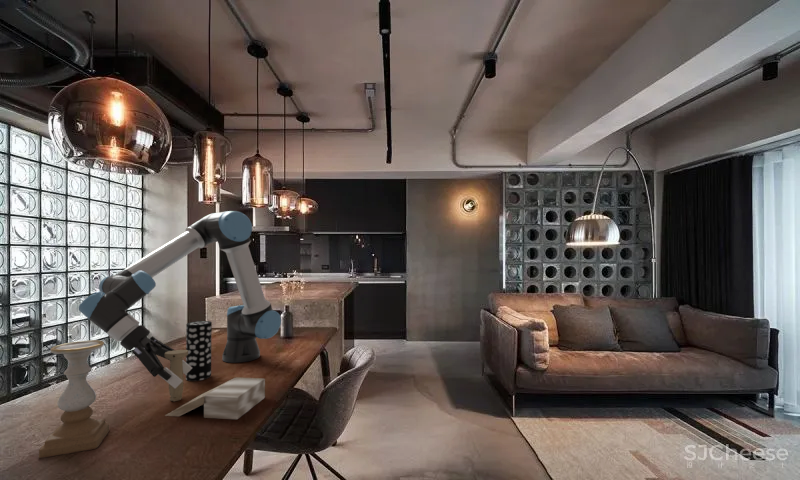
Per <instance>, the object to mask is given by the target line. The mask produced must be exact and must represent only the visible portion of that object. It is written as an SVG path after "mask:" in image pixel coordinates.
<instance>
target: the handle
mask: <svg viewBox="0 0 800 480" xmlns="http://www.w3.org/2000/svg"><path fill="white" fill-rule="evenodd" d="M187 355H188V350H186V349H174V350H173V351H168V352H165V358H167V359H166V360H168V359H169V360H168V361H169V362H170V363H169V370H170V371H172V372H173V373H174V374H175V375H177V376H178V377H179V378H180V379H181V380H183V381H182V382H181V383H180V384H179V385H178V386H177V387H176V388H174V387H172V386H171V385H170V384H169V383H168V392H169V396H170V397H169V400H170V402H178V401H180V400H182V399H183V391H184V373H183V362H182V361H183V360H184V358H186V356H187ZM165 358H164V359H165Z"/></svg>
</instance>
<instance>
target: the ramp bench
mask: <svg viewBox="0 0 800 480" xmlns="http://www.w3.org/2000/svg"><path fill="white" fill-rule="evenodd" d="M265 387H266V378H263V377H262V378H259V377H257V378H256V377H234V378H232V379H229V380H227V381H225V382H223V383H222V384H220V385H217V386H216V387H214V388H211V389H209V390H208V391H205V392H203V393H202V394H199V395H198V396H196V397H195V398H193V399H191V400H189V401H187V402H186V403H184V404H182V405H180V406H179V407H177V408H176V409H174V410H172V411H171V412H168V413H167V414H165V415H164V416H165V417H167V416H168V417H181V416H183V415H185V414H186V413H189V412H191V411H192V410H195V409H197V408H199V407H200V406H203V418H204V419H206V418H207V419H224V420H238V419H240V418H241V417H242V416H244V415H245V414H246V413H248V412H249V411H250V410H252V408H254V407H255V406H256V405H258V404H259V403H260V402H262V400H264V399H265V398H266V391H265V390H266V388H265Z"/></svg>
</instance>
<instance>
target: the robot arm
mask: <svg viewBox="0 0 800 480" xmlns="http://www.w3.org/2000/svg"><path fill="white" fill-rule="evenodd" d="M252 232H253V224H252V222H251V220H250V218H249V217H248V215H246V214H244V213H243V212H242V211H237V210H229V211H228V210H227V211H226V210H225V211H220V212H212V213H210V214H207V215H205V216H203V217H202V218H200V219H199V220H197V221H195V222H194V223H193V224H191V225H189V226H187V227H186V228H185V232H183V233H181V234H180V235H178V236H176V237H175V238H173V239H171V240H170V241H167V242H166V243H164V244H163V245H162V246H160V247H158V248H156V249H155V250H153V251H152V252H150V253H148V254H147V255H146V256H144V257H142V258H140V259H139V260H137V261H136V262H134V263H132V264H131V265H129V266H127V267H126V268H125V269H123V270H120V271H119V272H118V273H116V274H114V275H108V276H106V277H104V278H102V279H101V280H100V282H99V285H98V290H97V291H95V292H94V293H92V294H90V295H89V296H87V297H85V299H83V300H82V301H81V303H80V304H79V305H78V311H79V312H80V313H81V314H82V315H84V316H85V318H87V320H89V321H90V322H91V323H93V324H94V325H95V326H96V327H98V328H99V329H101V330H102V331H103V332H104V333H105V334H107V335H108V336H109V338H110V339H112V340H114V341H116V342H118V343H119V342H120V343H119V344H120V346H122V347H123V348H124V349H125V350H127V351H129V352H130V351H131V353H132V354H133V355H134V356H135V357H136V358H137V359H138V360H139V361H140V363H141V364H142V365H143V366H144V367H145V369H146V370H147V371H148V373H150V374H151V376H152V377H156V376H159V377H160V378H161V379H162V380H164V381H165V382H166V383H167V384H168V385H169V384H170V385H171V386H172V387H174V388H176V387H177V386H178V385H179V384H180V383H181V382H182V381H183V382H184V379H183V380H181V379H180V378H179V377H178V376H177V375H175V374H174V373H173V372H172V371H170V368H168V367H166V366H165V367H164V365H163V364H162V362H161V360H160V359H159V357H161V358H164V359H166V360H168V361H170V360H169V359H167V358H165V352H168V351H173V350H175V349H173V348H172V347H170V346H169V345H167V344H165V343H164V342H161V341H160V340H158V339H157V338H156V337H154V336H150V338H149V337H148V335H150V333H151V332H150V330H149V329H148V328H146V327H145V326H144V325H143V324H140V322H139V321H138V320H137V319H136V318H135V317H133V316H132V315H131V314H129V313H128V310H129V309H130V308H131V307H133V306H134V305H136V303H139V301H140V300H142V299H143V298H145V297H146V295H149V294H150V292H152V290H154V289H155V287H156V284H157V283H156V281H155V280H154V277H155V276H157V275H159V274H160V273H161V272H164V271H165V270H167V269H168V268H170V267H171V266H173V265H174V264H175V263H177V262H178V261H180V260H181V259H183V258H184V257H186V256H188V255H189V254H191V253H193V251H195V250H197V249H203V248H205V247H206V246H208V245H210V244H213V243H217V244H218V246H219V250H220V251H223V252H224V253H225V255H226V257H227V261H228V264H229V267H230V269H231V272H232V275H233V278H234V281H235V284H236V287H237V289H238V290H237V291H238V293H239V295H240V298H241V302H242V304H241V305H235V306H233V305H232V306H229V307H228V308H227V312H226V344H225V346H224V349H223V353H222V361H223V362H225V363H233V364H234V363H238V364H239V363H246V362H251V361H255V360H257V359H260V356H261V350H260V348H259V345H258V341H257V339H262V340H264V339H271V338H273V337H274V336H275V335H276V334H277V333H278V332H279V330H280V327H281V325H282V317H281V314H280V313H279V312H277V311H276V310H274V309H273V307H272V303H271V301H270V300H268V299H266V298H265V294H264V291H263V287H262V286H261V282H260V278H259V276H258V272H257V269H256V266H255V262H254V260H253V258H252V254H251V250H250V247H249V245H250V244H251V242H252V240H251V238H250V237H251V235H252ZM256 338H257V339H256ZM182 362H183V375H185V376H186V374H187V373H188V372H189V371H190V370H191V369H192V367H191V366H190V365H188V364H187V363H186V360H184V359H183V361H182Z"/></svg>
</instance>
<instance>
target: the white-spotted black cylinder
mask: <svg viewBox="0 0 800 480" xmlns="http://www.w3.org/2000/svg"><path fill="white" fill-rule="evenodd" d="M212 323H213V322H212V321H209V320H201V321H192V322H188V323H187V322H186V324H185V325H186V329H185V330H186V334H185V335H186V336H185V337H186V339H185V340H186V342H185V346H186V347H185V348H186V349H185V350H188V355H187V356H186V357H185V362H186V363H187V364H188V365H190V366H191V367H192V369H191V370H190V371H189V372H188V373H187V374H186V375H185V380H186V381H189V382H198V381H204V380H207V379H209V378H211V377H212V332H213V331H212V327H213V326H212V325H213V324H212Z"/></svg>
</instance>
